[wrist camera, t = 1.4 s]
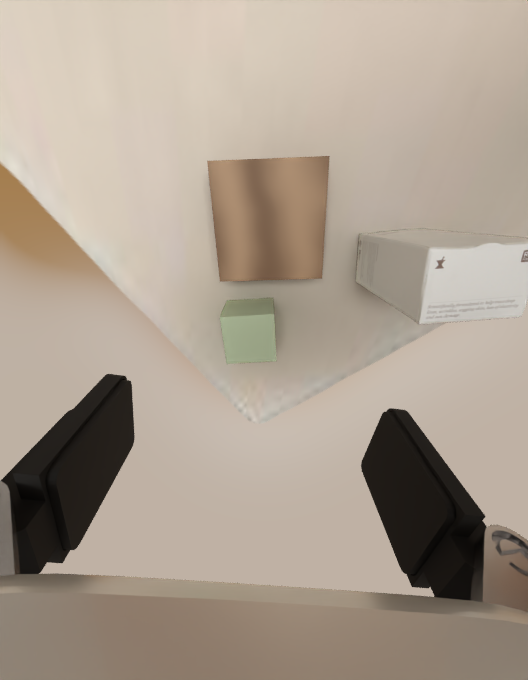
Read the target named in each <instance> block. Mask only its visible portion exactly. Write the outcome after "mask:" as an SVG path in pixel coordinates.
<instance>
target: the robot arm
mask: <svg viewBox="0 0 528 680" xmlns="http://www.w3.org/2000/svg"><path fill="white" fill-rule="evenodd" d="M133 443H134V421H133V403H132V385H131V381H127V378H126V377H125V376H121V375H113V374H107V375H105V377H103V379H101V381H99V383H98V384H97V385H96V386H95V387H94V388H93V389H92V390H91V391H90V392H89V393H88V394H87V395H86V396H85V397H84V398H83V399H82V401H81V402H80V403H79V404H78V405H77V406H76V407H75V408H74V409H72V410H70V411H68V412H67V413H66V414H65V415H64V416H63V417H62V418H61V419H60V420H59V421H58V422H57V423H56V424H55V425H54V426H53V427H52V428H51V430H49V431H48V433H46V435H45V436H44V437H43V438H42V439H41V440H40V441H39V442H38V443H37V444H36V445H35V446H34V447H33V448H32V449H31V450H30V451H29V452H28V453H27V454H26V455H25V456H24V457H23V458H22V459H21V460H20V461H19V462H18V463H17V465H15V467H14V468H13V469H12V470H11V471H10V472H9V473H8V474H7V475H6V476H5V477H4V478H3V479H2V480H1V481H0V680H528V540H526V539H525V538H524V537H522V536H520V535H519V534H518V533H516V532H515V531H513V530H511V529H508V528H507V527H503V526H500V525H490V526H488V527H486V525H485V524H484V522H483V521H482V520H483V519H484V518H485V515H484V514H483V512H482V511H481V510H480V509H479V507H478V506H477V504H476V503H475V502H474V500H473V499H472V498H471V496H470V495H469V494H468V492H467V491H466V490H465V488H464V487H463V486H462V484H461V483H460V482H459V480H458V479H457V478H456V476H455V475H454V474H453V472H452V471H451V470H450V468H449V467H448V465H447V464H446V463H445V462H444V460H443V459H442V457H441V456H440V455H439V453H438V452H437V451H436V449H435V448H434V447H433V445H432V444H431V443H430V441H429V440H428V439H427V437H426V436H425V434H424V433H423V432H422V430H421V429H420V428H419V426H418V425H417V424H416V422H415V421H414V420H413V418H412V417H411V416H410V414H409V413H408V412H407V411H405V410H399V409H388V410H387V412H384V413H383V414H382V416H381V418H380V421H379V423H378V425H377V427H376V430H375V432H374V435H373V437H372V439H371V441H370V444H369V446H368V448H367V451H366V453H365V455H364V458H363V460H362V464H361V467H362V472H363V475H364V477H365V480H366V482H367V485H368V487H369V490H370V492H371V495H372V498H373V500H374V503H375V505H376V508H377V510H378V513H379V515H380V517H381V520H382V523H383V525H384V528H385V530H386V533H387V535H388V538H389V540H390V543H391V545H392V548H393V550H394V553H395V556H396V558H397V561H398V563H399V566H400V567H401V570H402V571H403V572H404V573H405V574H407V576H408V579H409V581H410V583H411V586H412V587H420V588H421V587H422V588H429V587H431V589H432V591H433V593H434V597H426V596H413V595H401V594H387V593H372V592H358V591H344V590H331V589H315V588H301V587H286V586H271V585H255V584H240V583H224V582H208V581H190V580H175V579H158V578H141V577H125V576H101V575H100V576H99V575H76V574H75V575H74V574H39V573H40V572H41V571H42V569H43V567H44V566H45V564H46V563H47V562H52V563H63V561H64V560H65V558H66V556H67V554H68V553H69V551H70V550H74V549H76V548H77V547H78V545H79V544H80V542H81V540H82V538H83V537H84V535H85V533H86V531H87V529H88V527H89V526H90V524H91V522H92V520H93V518H94V516H95V515H96V513H97V511H98V509H99V507H100V505H101V503H102V502H103V500H104V498H105V496H106V494H107V492H108V491H109V489H110V487H111V485H112V483H113V481H114V480H115V478H116V476H117V474H118V472H119V470H120V468H121V466H122V465H123V463H124V461H125V459H126V458H127V456H128V454H129V452H130V450H131V448H132V446H133Z"/></svg>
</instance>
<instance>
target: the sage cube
mask: <svg viewBox="0 0 528 680" xmlns="http://www.w3.org/2000/svg"><path fill="white" fill-rule="evenodd" d="M220 322H221V329H222V336H223V342H224V349H225V356H226V363H227V364H234V363H253V362H273V361H277V360H276V341H275V322H274V304H273V298H261V299H245V300H228V301H227V302H226V304H225V306H224V309H223V311H222V313H221V316H220Z"/></svg>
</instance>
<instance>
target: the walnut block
mask: <svg viewBox="0 0 528 680" xmlns="http://www.w3.org/2000/svg"><path fill="white" fill-rule="evenodd" d="M207 162H208V171H209V181H210V190H211V200H212V210H213V219H214V229H215V238H216V248H217V257H218V267H219V276H220V281H250V280H283V279H317V278H322V267H323V251H324V235H325V219H326V203H327V186H328V170H329V156H321V157H297V158H272V159H247V160H222V161H207Z"/></svg>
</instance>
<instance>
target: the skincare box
mask: <svg viewBox="0 0 528 680" xmlns="http://www.w3.org/2000/svg"><path fill="white" fill-rule="evenodd" d="M356 282H357V283H358V284H360V285H361V286H363V287H364V288H366V289H368V290H369V291H370V292H372V293H373V294H375V295H376V296H378V297H379V298H381V299H383V300H384V301H386V302H387V303H389V304H390V305H392V306H393V307H395V308H396V309H398V310H399V311H401V312H402V313H404V314H405V315H407V316H408V317H410V318H411V319H413V320H414V321H416V322H417V323H418V324H434V323H448V322H463V321H476V320H490V319H502V318H514V317H521V316H522V314H523V311H524V309H525V306H526V303H527V300H528V238H523V237H511V236H500V235H488V234H476V233H465V232H454V231H443V230H431V229H405V230H395V231H384V232H376V233H363V234H360V235H359V246H358V259H357V269H356Z"/></svg>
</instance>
